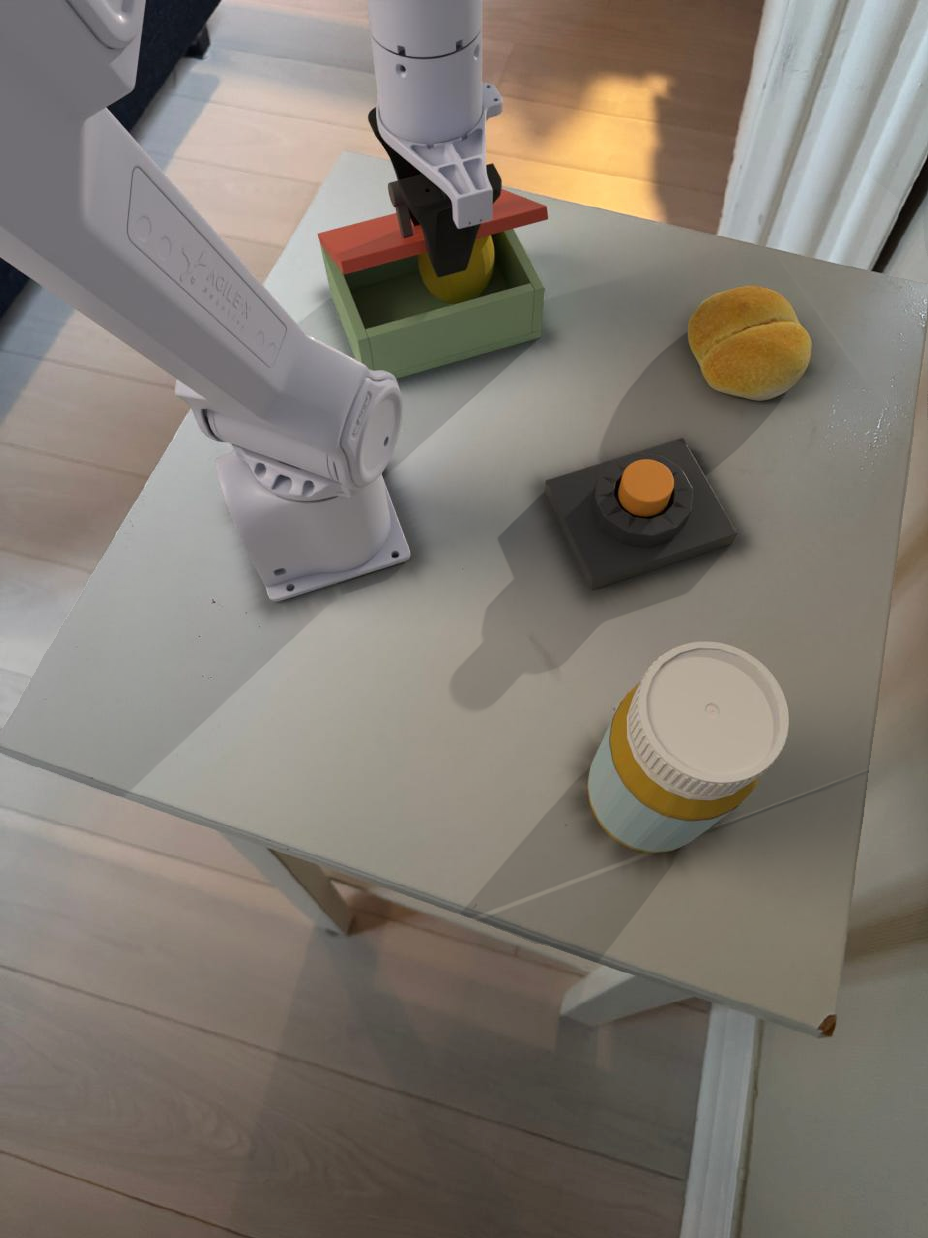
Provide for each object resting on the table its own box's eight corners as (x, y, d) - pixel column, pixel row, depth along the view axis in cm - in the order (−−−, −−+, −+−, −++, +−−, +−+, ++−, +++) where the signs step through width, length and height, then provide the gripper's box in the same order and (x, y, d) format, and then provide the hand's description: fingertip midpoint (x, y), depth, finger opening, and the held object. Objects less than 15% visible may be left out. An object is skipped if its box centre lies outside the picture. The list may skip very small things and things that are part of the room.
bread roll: (717, 417, 58) (732, 378, 55) (671, 324, 62) (683, 282, 58) (825, 391, 59) (848, 351, 55) (774, 300, 63) (792, 258, 59)
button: (630, 523, 52) (635, 508, 50) (609, 483, 53) (613, 467, 52) (677, 508, 52) (683, 493, 51) (655, 468, 54) (660, 452, 52)
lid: (548, 219, 53) (540, 148, 50) (343, 274, 51) (325, 204, 49) (498, 197, 61) (489, 136, 59) (320, 245, 59) (303, 183, 57)
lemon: (494, 326, 62) (495, 237, 55) (420, 327, 62) (411, 238, 55) (493, 272, 64) (495, 179, 57) (422, 272, 64) (414, 180, 57)
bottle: (622, 876, 46) (681, 823, 32) (565, 762, 48) (597, 668, 35) (731, 824, 47) (834, 752, 33) (670, 715, 49) (742, 607, 36)
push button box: (590, 591, 53) (596, 569, 50) (544, 491, 56) (547, 465, 53) (731, 544, 54) (745, 520, 51) (678, 449, 57) (688, 422, 55)
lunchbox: (541, 337, 62) (545, 287, 57) (366, 388, 60) (357, 340, 56) (496, 250, 66) (497, 197, 61) (331, 295, 64) (319, 244, 60)
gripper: (553, 91, 39) (536, 307, 52) (453, -70, 45) (460, 159, 58) (412, 127, 39) (429, 337, 51) (329, -42, 44) (363, 184, 57)
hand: (439, 245), depth 54 cm, fingers closed on lid, 4 cm apart
